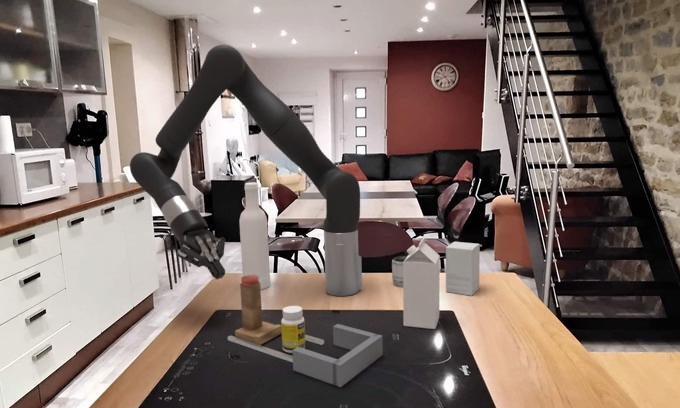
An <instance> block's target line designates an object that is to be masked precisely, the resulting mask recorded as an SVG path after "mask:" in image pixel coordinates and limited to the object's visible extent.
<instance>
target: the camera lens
mask: <svg viewBox="0 0 680 408" xmlns="http://www.w3.org/2000/svg"><path fill="white" fill-rule="evenodd" d="M407 256H408V255H398V256H395V257H393V259H392V260H391V269H392V271H391V276H392V284H393V286H395V287H399V288H403V261H404V260H405V259H406V257H407Z"/></svg>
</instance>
